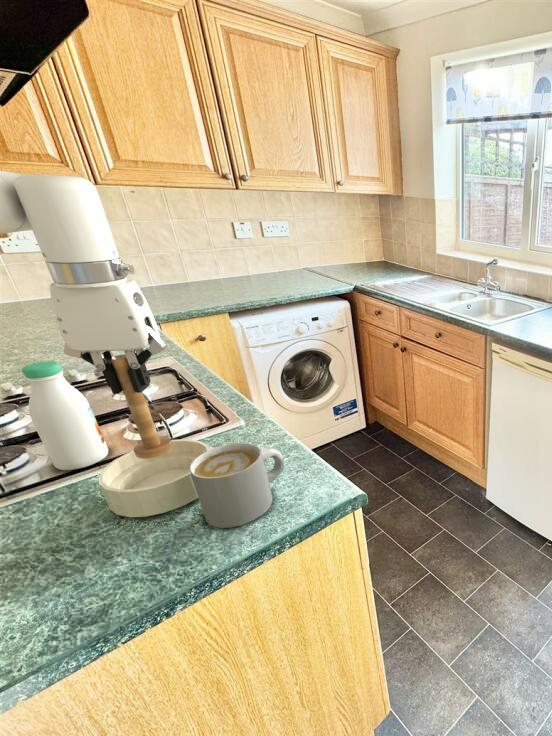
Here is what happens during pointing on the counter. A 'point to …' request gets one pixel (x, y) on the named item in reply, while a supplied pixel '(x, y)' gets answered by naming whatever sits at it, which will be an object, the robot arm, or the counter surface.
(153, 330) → the robot arm
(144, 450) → the wooden masher
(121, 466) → the bowl
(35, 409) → the milk bottle
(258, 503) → the coffee mug
